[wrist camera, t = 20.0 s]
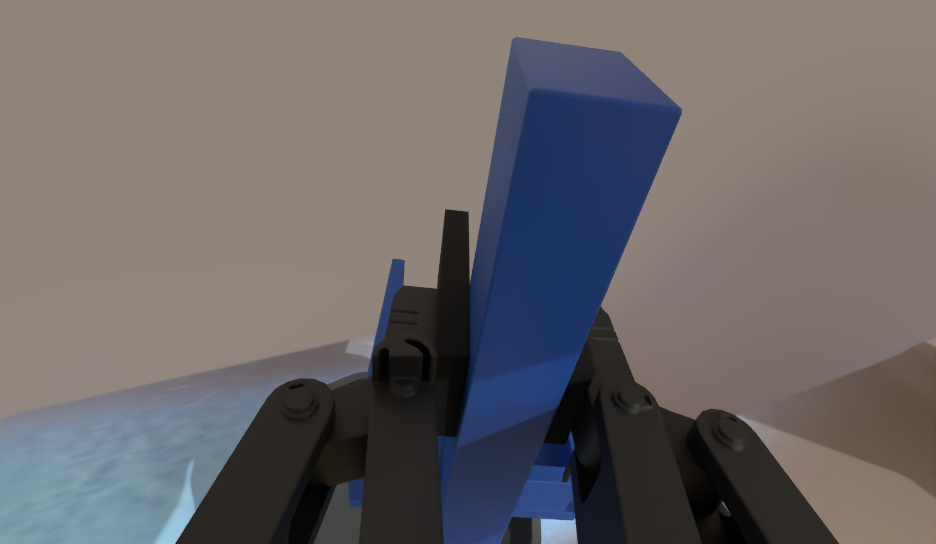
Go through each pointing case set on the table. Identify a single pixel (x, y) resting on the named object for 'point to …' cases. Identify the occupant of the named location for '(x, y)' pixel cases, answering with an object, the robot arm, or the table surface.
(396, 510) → the robot arm
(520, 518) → the grey round bin
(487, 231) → the scoop
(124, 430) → the table surface
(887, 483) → the table surface
